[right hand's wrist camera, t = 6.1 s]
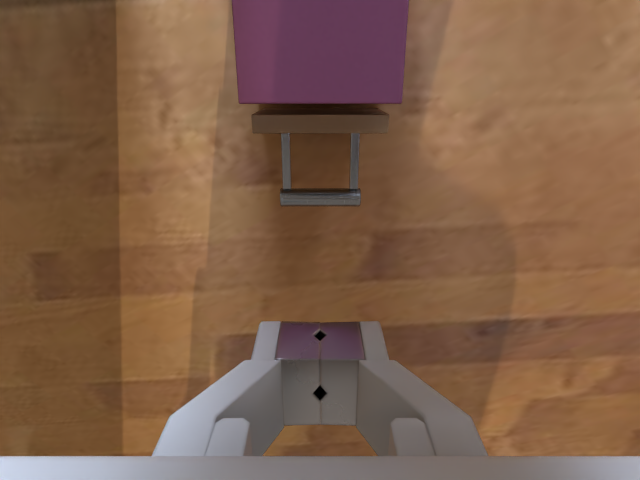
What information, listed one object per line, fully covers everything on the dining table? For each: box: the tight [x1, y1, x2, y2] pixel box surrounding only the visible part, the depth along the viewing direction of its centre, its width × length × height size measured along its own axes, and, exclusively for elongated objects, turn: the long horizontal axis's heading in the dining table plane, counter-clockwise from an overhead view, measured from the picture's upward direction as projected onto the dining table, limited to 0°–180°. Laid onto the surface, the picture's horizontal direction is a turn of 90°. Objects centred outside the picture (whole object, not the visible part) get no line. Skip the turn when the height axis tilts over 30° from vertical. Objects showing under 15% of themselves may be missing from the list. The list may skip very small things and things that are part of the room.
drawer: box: [252, 108, 389, 206], centre depth 28 cm, size 22×9×6 cm, turn 0°
